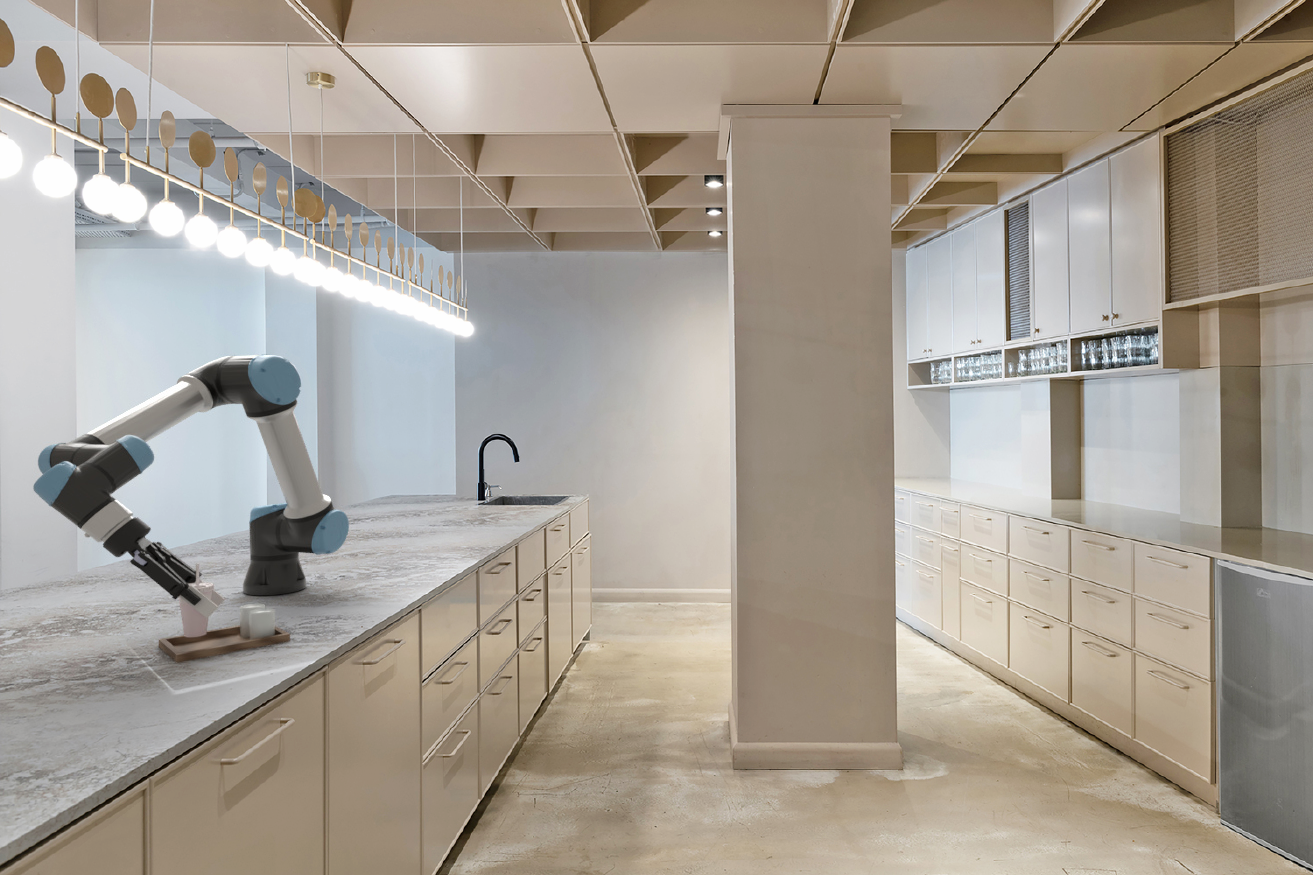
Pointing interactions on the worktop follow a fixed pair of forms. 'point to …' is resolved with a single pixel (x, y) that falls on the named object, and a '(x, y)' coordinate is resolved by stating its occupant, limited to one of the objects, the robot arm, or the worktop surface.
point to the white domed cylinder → (262, 623)
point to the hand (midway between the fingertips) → (216, 608)
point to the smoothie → (191, 617)
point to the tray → (216, 643)
